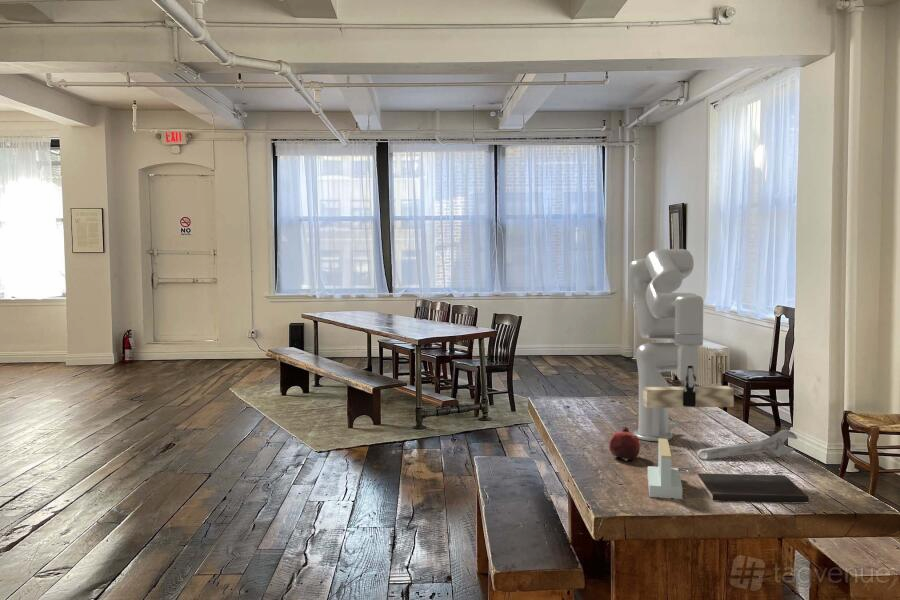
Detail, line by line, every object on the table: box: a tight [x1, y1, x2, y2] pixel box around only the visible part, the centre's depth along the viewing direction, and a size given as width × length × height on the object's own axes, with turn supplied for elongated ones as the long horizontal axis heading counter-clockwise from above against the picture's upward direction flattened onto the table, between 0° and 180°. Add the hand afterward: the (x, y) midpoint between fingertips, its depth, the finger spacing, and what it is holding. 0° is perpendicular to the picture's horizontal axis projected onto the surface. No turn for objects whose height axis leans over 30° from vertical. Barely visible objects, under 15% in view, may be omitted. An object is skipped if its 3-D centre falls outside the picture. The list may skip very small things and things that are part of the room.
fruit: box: [608, 425, 641, 462], centre depth 211 cm, size 9×10×10 cm
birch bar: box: [643, 385, 735, 409], centre depth 196 cm, size 24×4×5 cm, turn 90°
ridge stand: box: [647, 438, 683, 500], centre depth 185 cm, size 16×8×11 cm, turn 166°
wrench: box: [696, 429, 798, 460], centre depth 210 cm, size 8×2×30 cm
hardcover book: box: [697, 472, 810, 503], centre depth 182 cm, size 16×23×2 cm
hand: (688, 403), depth 196 cm, fingers closed on birch bar, 5 cm apart
